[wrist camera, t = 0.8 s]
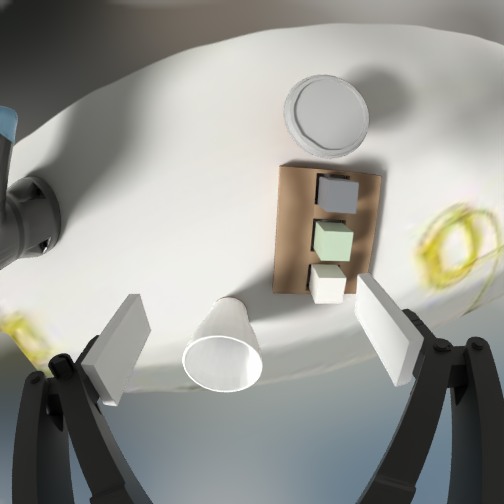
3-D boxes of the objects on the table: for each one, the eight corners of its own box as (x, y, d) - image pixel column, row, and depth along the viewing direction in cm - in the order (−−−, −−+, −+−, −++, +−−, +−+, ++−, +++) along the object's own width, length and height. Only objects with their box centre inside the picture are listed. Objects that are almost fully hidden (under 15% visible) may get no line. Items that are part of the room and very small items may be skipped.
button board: (272, 287, 45) (273, 293, 43) (279, 166, 39) (280, 166, 37) (359, 287, 45) (363, 293, 43) (375, 174, 39) (381, 176, 37)
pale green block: (313, 247, 41) (321, 260, 36) (316, 221, 40) (324, 231, 35) (339, 248, 41) (349, 261, 36) (342, 222, 40) (353, 232, 35)
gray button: (317, 204, 39) (326, 211, 34) (319, 176, 37) (329, 179, 33) (344, 206, 39) (355, 213, 34) (346, 178, 37) (358, 182, 33)
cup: (186, 299, 46) (166, 350, 33) (242, 274, 44) (238, 323, 32) (218, 344, 49) (209, 399, 36) (270, 323, 48) (275, 379, 35)
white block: (308, 287, 43) (315, 303, 38) (311, 263, 42) (318, 277, 37) (333, 287, 43) (341, 303, 38) (336, 264, 42) (346, 278, 37)
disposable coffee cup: (263, 108, 36) (268, 90, 24) (322, 85, 34) (348, 61, 23) (293, 167, 39) (310, 173, 27) (350, 142, 37) (386, 140, 26)
